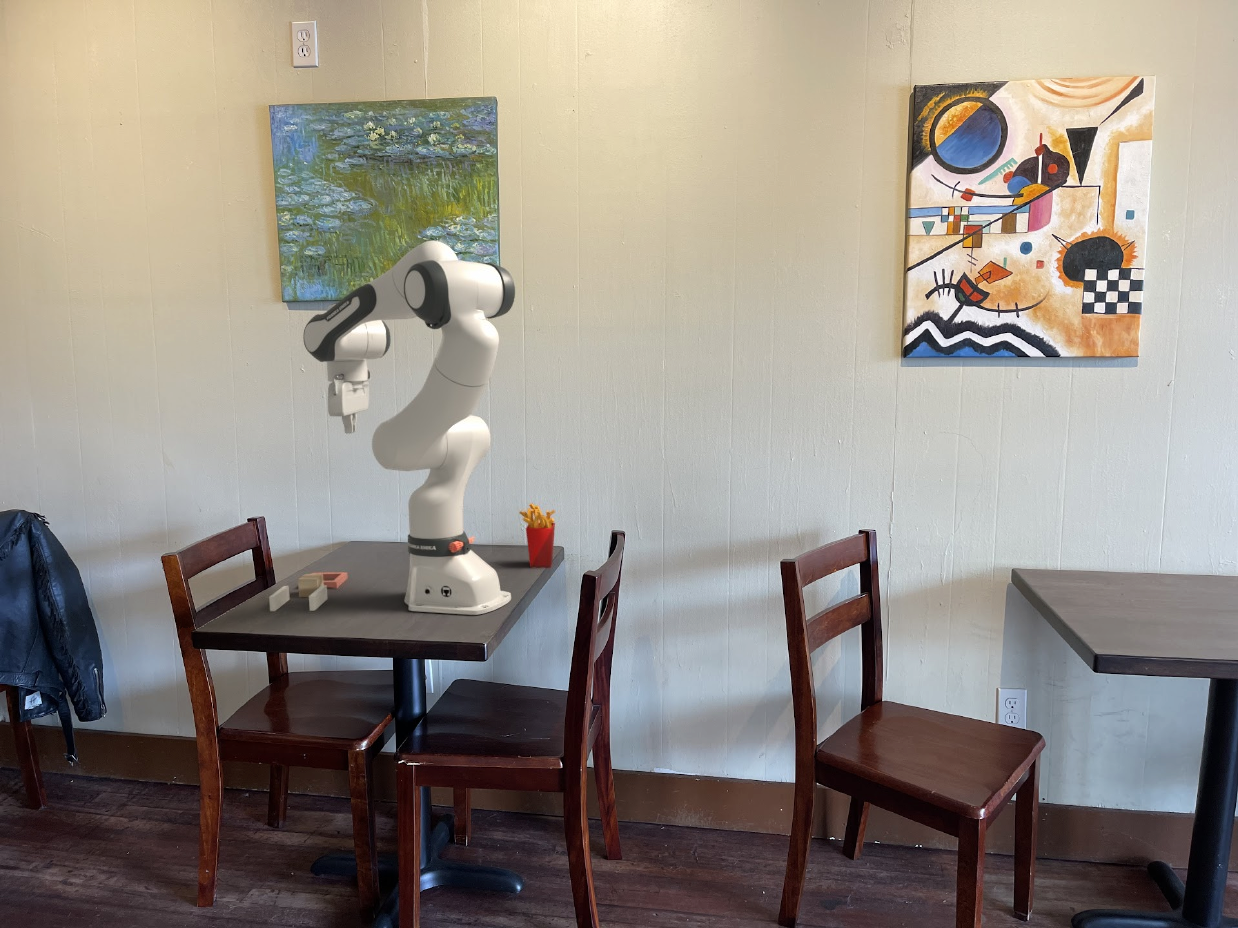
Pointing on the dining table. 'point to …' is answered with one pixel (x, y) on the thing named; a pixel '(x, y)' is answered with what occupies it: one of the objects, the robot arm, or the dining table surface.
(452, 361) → the robot arm
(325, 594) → the walled lane
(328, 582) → the frame
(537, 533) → the french fries
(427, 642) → the dining table surface
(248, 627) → the dining table surface
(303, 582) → the beech block
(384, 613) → the dining table surface
